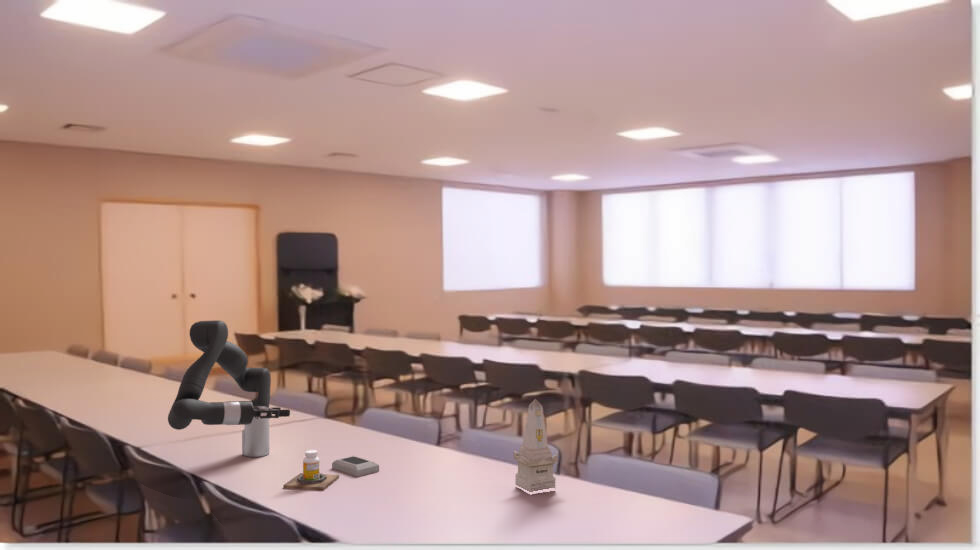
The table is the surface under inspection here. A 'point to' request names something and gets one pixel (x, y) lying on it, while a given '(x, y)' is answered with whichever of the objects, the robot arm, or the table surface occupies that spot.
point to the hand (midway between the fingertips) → (284, 411)
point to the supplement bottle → (311, 466)
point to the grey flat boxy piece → (355, 466)
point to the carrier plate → (311, 482)
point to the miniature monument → (535, 454)
